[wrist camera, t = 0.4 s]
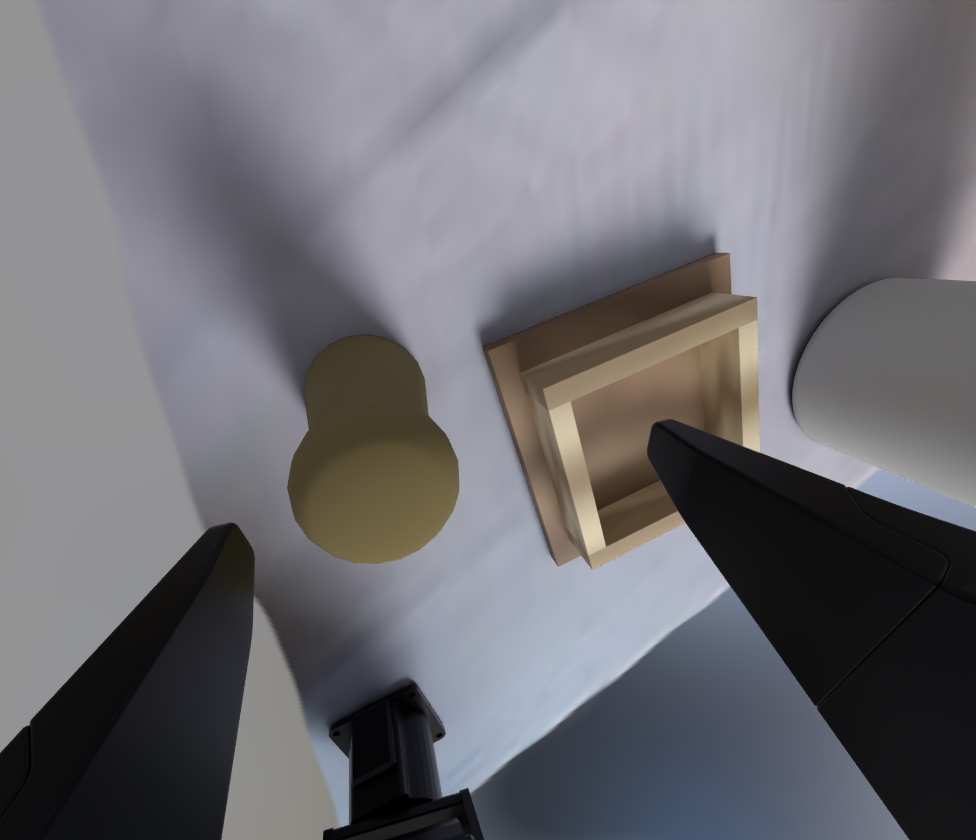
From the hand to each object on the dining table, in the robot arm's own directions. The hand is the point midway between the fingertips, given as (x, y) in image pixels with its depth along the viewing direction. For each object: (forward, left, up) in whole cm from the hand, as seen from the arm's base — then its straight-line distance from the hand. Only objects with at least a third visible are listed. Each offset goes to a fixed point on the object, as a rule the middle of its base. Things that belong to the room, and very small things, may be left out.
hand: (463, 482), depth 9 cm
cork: (-2, +2, -14) cm, 14 cm away
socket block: (-10, -12, -14) cm, 20 cm away
